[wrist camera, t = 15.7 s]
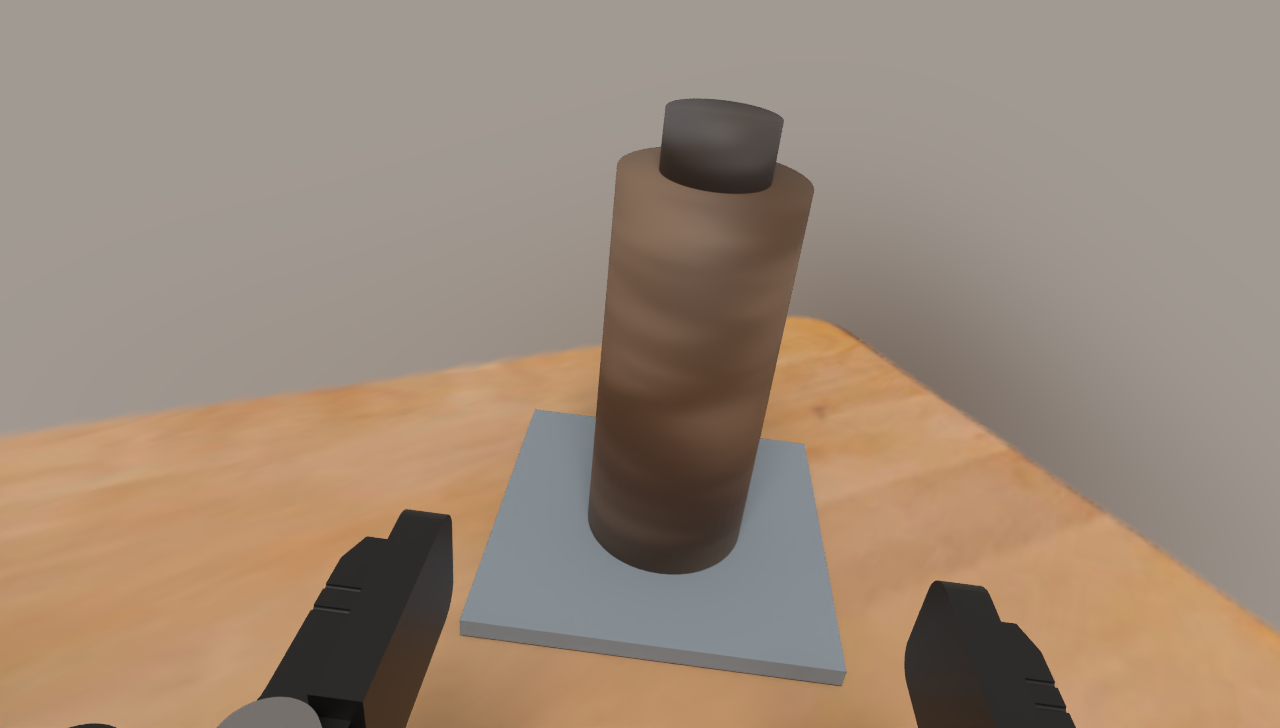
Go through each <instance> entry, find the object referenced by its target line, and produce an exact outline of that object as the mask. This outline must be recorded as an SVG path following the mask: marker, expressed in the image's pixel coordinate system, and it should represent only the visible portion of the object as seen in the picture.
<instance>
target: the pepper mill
mask: <svg viewBox="0 0 1280 728" xmlns="http://www.w3.org/2000/svg"><path fill="white" fill-rule="evenodd" d="M783 122H784V120H783V118H782V117H781V116H779V115H778V114H776V113H774V112H772V111H769V110H766V109H763V108H760V107H756V106H752V105H748V104H743V103H738V102H732V101H725V100H715V99H682V100H675V101H672V102H669V103H668V104H667V105H666V109H665V118H664V126H663V135H662V144H661V147H656V148H648V149H643V150H639V151H635V152H632V153H629V154H627V155H625V156H623V157H622V158H621V159H620V160H619V162H618V164H617V172H616V184H615V197H614V208H613V220H612V232H611V244H610V256H609V268H608V280H607V293H606V303H605V316H604V327H603V340H602V351H601V363H600V375H599V387H598V399H597V411H596V423H595V435H594V447H593V459H592V471H591V482H590V494H589V506H588V522H589V526H590V529H591V531H592V533H593V536H594V537H595V539H596V540H597V542H598V543H599V544H600V545H601V546H602V547H603V548H604V549H605V550H606V551H607V552H608V553H609V554H611V555H612V556H613V557H615V558H616V559H618V560H620V561H622V562H623V563H625V564H627V565H630V566H632V567H635V568H637V569H640V570H644V571H647V572H652V573H658V574H668V575H680V574H689V573H694V572H699V571H702V570H705V569H708V568H710V567H712V566H714V565H716V564H718V563H719V562H721V561H722V560H723V559H725V558H726V557H727V556H728V555H729V554H730V553H731V551H732V550H733V548H734V547H735V545H736V543H737V540H738V536H739V532H740V527H741V523H742V518H743V513H744V509H745V504H746V500H747V495H748V491H749V486H750V481H751V477H752V472H753V468H754V463H755V459H756V454H757V449H758V445H759V440H760V436H761V431H762V427H763V422H764V417H765V413H766V408H767V404H768V399H769V395H770V390H771V385H772V381H773V376H774V372H775V367H776V363H777V358H778V354H779V349H780V344H781V340H782V335H783V331H784V326H785V322H786V317H787V312H788V308H789V303H790V299H791V294H792V290H793V285H794V280H795V275H796V271H797V267H798V262H799V258H800V253H801V248H802V243H803V239H804V235H805V230H806V226H807V221H808V216H809V212H810V207H811V203H812V198H813V194H814V187H813V185H812V183H811V182H810V181H809V180H808V179H807V178H806V177H805V176H803V175H802V174H800V173H799V172H797V171H795V170H793V169H791V168H789V167H787V166H784V165H782V164H779V163H776V159H777V154H778V148H779V144H780V138H781V133H782V128H783Z"/></svg>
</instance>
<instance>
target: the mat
mask: <svg viewBox="0 0 1280 728" xmlns="http://www.w3.org/2000/svg"><path fill="white" fill-rule="evenodd" d="M595 423H596V417H591V416H583V415H575V414H567V413H560V412H552V411H544V410H536V409H535V411H534V414H533V417H532V419H531V422H530V425H529V428H528V431H527V433H526V436H525V439H524V442H523V445H522V447H521V450H520V453H519V456H518V459H517V461H516V464H515V467H514V470H513V473H512V475H511V478H510V481H509V484H508V487H507V489H506V492H505V495H504V498H503V501H502V503H501V506H500V509H499V512H498V515H497V517H496V520H495V523H494V526H493V529H492V531H491V534H490V537H489V540H488V543H487V545H486V548H485V551H484V554H483V557H482V559H481V562H480V565H479V568H478V571H477V573H476V576H475V579H474V582H473V585H472V588H471V590H470V593H469V596H468V599H467V602H466V604H465V607H464V610H463V613H462V616H461V618H460V635H466V636H473V637H481V638H488V639H496V640H503V641H511V642H518V643H526V644H533V645H541V646H548V647H555V648H563V649H570V650H578V651H585V652H593V653H600V654H608V655H615V656H623V657H630V658H638V659H645V660H653V661H660V662H668V663H675V664H683V665H690V666H698V667H705V668H713V669H720V670H728V671H735V672H743V673H750V674H758V675H765V676H772V677H780V678H787V679H795V680H802V681H810V682H817V683H825V684H832V685H840V686H842V683H843V680H844V677H845V674H846V667H845V661H844V656H843V650H842V645H841V640H840V634H839V629H838V623H837V618H836V612H835V607H834V602H833V596H832V591H831V585H830V580H829V574H828V569H827V564H826V558H825V553H824V547H823V542H822V536H821V531H820V526H819V520H818V515H817V509H816V504H815V498H814V493H813V488H812V482H811V477H810V471H809V466H808V461H807V455H806V450H805V444H800V443H793V442H785V441H777V440H769V439H762V438H760V440H759V445H758V449H757V454H756V459H755V463H754V468H753V472H752V477H751V481H750V486H749V491H748V495H747V500H746V504H745V509H744V513H743V518H742V523H741V527H740V532H739V536H738V540H737V543H736V545H735V547H734V548H733V550H732V551H731V553H730V554H729V555H728V556H727V557H726V558H725V559H723V560H722V561H721V562H719V563H718V564H716V565H714V566H712V567H710V568H708V569H705V570H702V571H699V572H694V573H689V574H680V575H668V574H658V573H652V572H647V571H644V570H640V569H637V568H635V567H632V566H630V565H627V564H625V563H623V562H622V561H620V560H618V559H616V558H615V557H613V556H612V555H611V554H609V553H608V552H607V551H606V550H605V549H604V548H603V547H602V546H601V545H600V544H599V543H598V542H597V540H596V539H595V537H594V536H593V533H592V531H591V529H590V526H589V522H588V506H589V494H590V482H591V471H592V459H593V447H594V435H595Z"/></svg>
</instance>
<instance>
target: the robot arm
mask: <svg viewBox="0 0 1280 728" xmlns="http://www.w3.org/2000/svg"><path fill="white" fill-rule="evenodd" d="M452 590H453V549H452V520H451V516H450V515H446V514H439V513H431V512H423V511H416V510H408V509H406V510H404V511H403V512H402V513H401V514H400V516H399V518H398V520H397V522H396V524H395V526H394V528H393V530H392V532H391V533H390V535H389V537H388V539H382V538H374V537H366V538H364V539H363V540H362V541H361V542H359V543H358V544H357V545H356V546H355V547H353V548H352V549H351V550H350V551H348V552H347V553H346V554H345V555H344V556H342V557H341V559H340V560H339V562H338V564H337V565H336V567H335V569H334V571H333V572H332V574H331V576H330V578H329V579H328V581H327V583H326V587H325V589H323V590H322V591H321V593H320V595H319V597H318V598H317V600H316V602H315V604H314V608H313V610H311V611H310V612H309V614H308V616H307V617H306V619H305V621H304V623H303V624H302V626H301V628H300V630H299V631H298V633H297V635H296V637H295V638H294V640H293V642H292V643H291V645H290V647H289V649H288V650H287V652H286V654H285V656H284V657H283V659H282V661H281V663H280V664H279V666H278V668H277V669H276V671H275V673H274V675H273V676H272V678H271V680H270V682H269V683H268V685H267V687H266V689H265V690H264V691H263V693H262V694H261V696H260V697H259V698H258V700H257V701H255V702H252V703H250V704H248V705H246V706H243V707H242V708H240V709H238V710H237V711H235V712H233V713H232V714H231V715H230V716H228V717H227V718H226V719H225V720H224V721H223V722H222V723H221V724H220V725H219V726H218V727H217V728H405V727H406V725H407V722H408V719H409V717H410V714H411V711H412V709H413V706H414V703H415V701H416V698H417V695H418V693H419V690H420V687H421V685H422V682H423V679H424V677H425V674H426V671H427V669H428V666H429V663H430V661H431V658H432V655H433V653H434V650H435V647H436V645H437V642H438V639H439V637H440V634H441V631H442V629H443V626H444V623H445V620H446V618H447V614H448V611H449V607H450V602H451V597H452ZM905 678H906V683H907V687H908V691H909V694H910V698H911V702H912V706H913V710H914V713H915V717H916V721H917V725H918V728H1076V727H1075V725H1074V723H1073V720H1072V718H1071V716H1070V714H1069V713H1066V705H1065V703H1064V701H1063V699H1062V696H1061V694H1060V692H1059V690H1058V688H1055V686H1054V683H1055V681H1054V679H1053V677H1052V675H1051V672H1050V670H1049V668H1048V666H1047V664H1046V662H1045V659H1044V657H1043V655H1042V653H1041V651H1040V650H1039V649H1038V648H1037V647H1036V646H1035V644H1034V643H1033V642H1032V641H1031V640H1030V639H1029V638H1028V637H1027V635H1026V634H1025V633H1024V632H1023V631H1022V630H1021V629H1020V628H1019V626H1018V625H1017V624H1014V623H1006V622H1001V620H1000V618H999V616H998V613H997V611H996V609H995V606H994V604H993V601H992V599H991V597H990V595H989V593H988V591H987V590H986V589H985V588H984V587H982V586H975V585H968V584H960V583H953V582H945V581H934V582H933V583H932V584H931V586H930V588H929V590H928V593H927V595H926V598H925V600H924V602H923V605H922V607H921V610H920V612H919V615H918V617H917V620H916V622H915V625H914V627H913V630H912V632H911V635H910V637H909V640H908V642H907V646H906V651H905ZM70 728H116V727H113V726H110V725H105V724H84V725H78V726H74V727H70Z"/></svg>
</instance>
